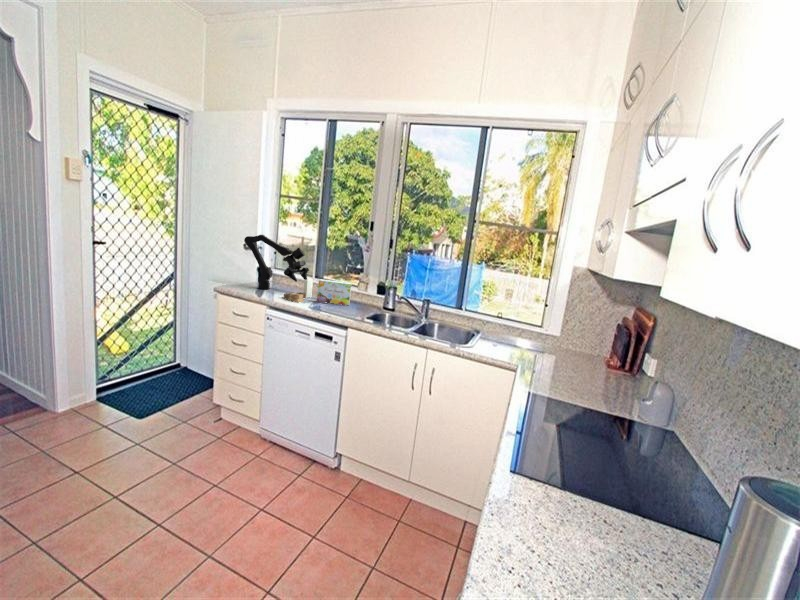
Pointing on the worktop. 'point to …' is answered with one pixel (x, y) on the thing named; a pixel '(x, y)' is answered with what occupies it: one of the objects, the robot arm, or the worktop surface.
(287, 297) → the frame
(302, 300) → the block
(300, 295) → the offcut top
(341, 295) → the snack box
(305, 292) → the white rectangular block
